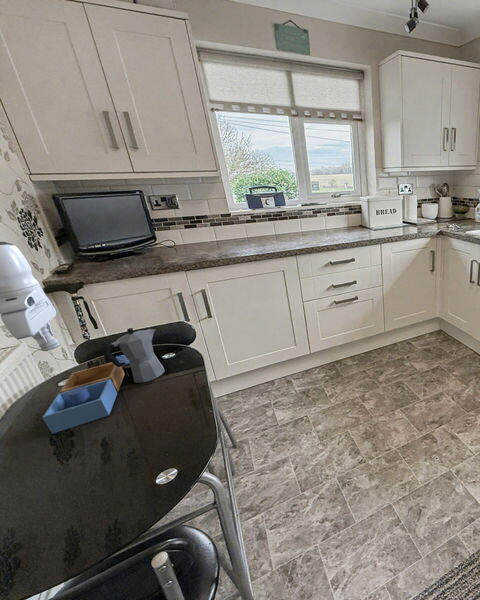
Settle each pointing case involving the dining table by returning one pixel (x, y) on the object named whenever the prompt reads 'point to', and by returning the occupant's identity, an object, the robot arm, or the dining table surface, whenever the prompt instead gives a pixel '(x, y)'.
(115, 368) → the oak bin
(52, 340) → the rook chess piece
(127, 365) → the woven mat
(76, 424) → the blue bin
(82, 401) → the blue peg
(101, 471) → the dining table surface
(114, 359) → the coffeepot
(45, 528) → the dining table surface
